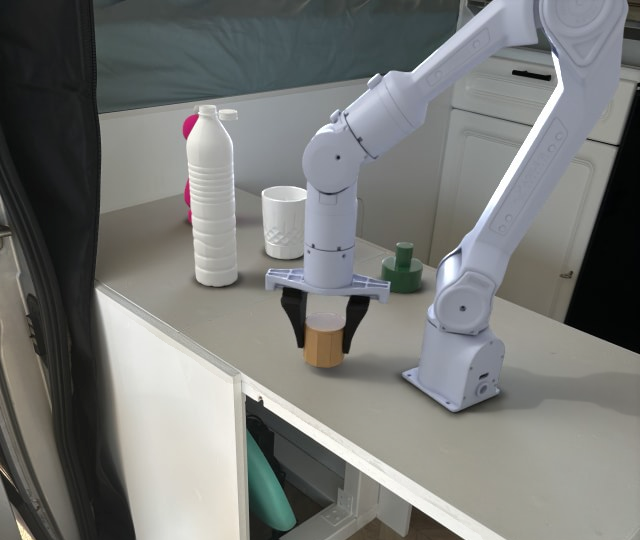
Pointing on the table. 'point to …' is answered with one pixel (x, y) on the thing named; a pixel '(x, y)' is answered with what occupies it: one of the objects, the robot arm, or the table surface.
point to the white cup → (284, 221)
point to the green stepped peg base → (402, 270)
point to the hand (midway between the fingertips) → (324, 347)
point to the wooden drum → (324, 339)
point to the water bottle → (212, 197)
